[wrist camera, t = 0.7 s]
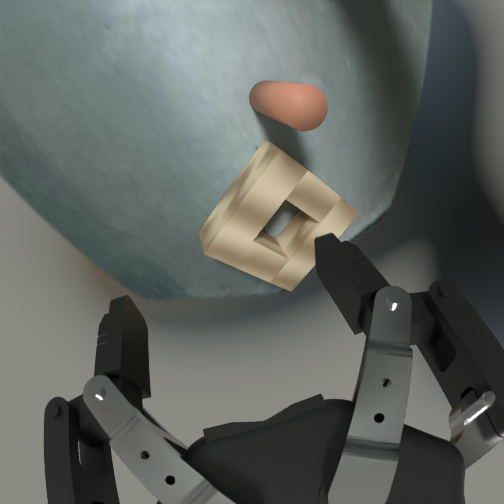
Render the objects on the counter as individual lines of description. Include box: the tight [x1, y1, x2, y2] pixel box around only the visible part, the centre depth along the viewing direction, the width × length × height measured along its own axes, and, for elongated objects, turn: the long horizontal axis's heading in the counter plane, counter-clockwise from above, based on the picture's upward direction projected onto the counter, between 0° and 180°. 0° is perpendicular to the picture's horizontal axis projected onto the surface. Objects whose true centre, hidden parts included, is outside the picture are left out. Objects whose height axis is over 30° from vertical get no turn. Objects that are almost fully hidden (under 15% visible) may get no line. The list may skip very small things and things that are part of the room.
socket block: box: [199, 139, 359, 291], centre depth 35 cm, size 14×14×5 cm
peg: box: [249, 81, 327, 131], centre depth 25 cm, size 4×4×10 cm
